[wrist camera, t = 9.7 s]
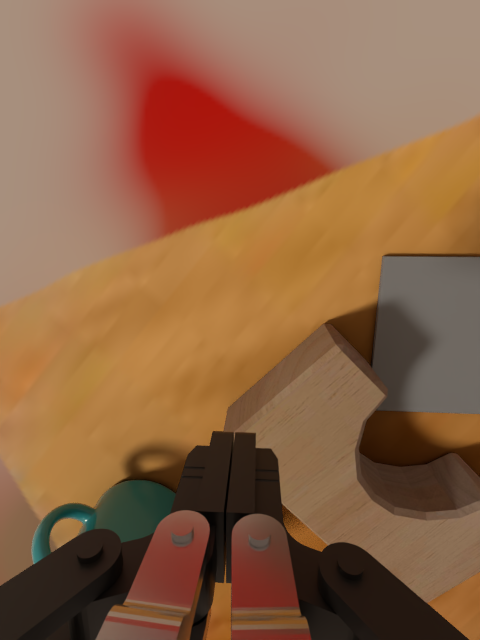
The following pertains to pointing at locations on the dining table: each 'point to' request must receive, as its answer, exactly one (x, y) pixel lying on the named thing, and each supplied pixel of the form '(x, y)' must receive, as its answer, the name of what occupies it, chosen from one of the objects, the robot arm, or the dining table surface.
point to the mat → (429, 334)
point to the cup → (112, 513)
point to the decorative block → (360, 468)
